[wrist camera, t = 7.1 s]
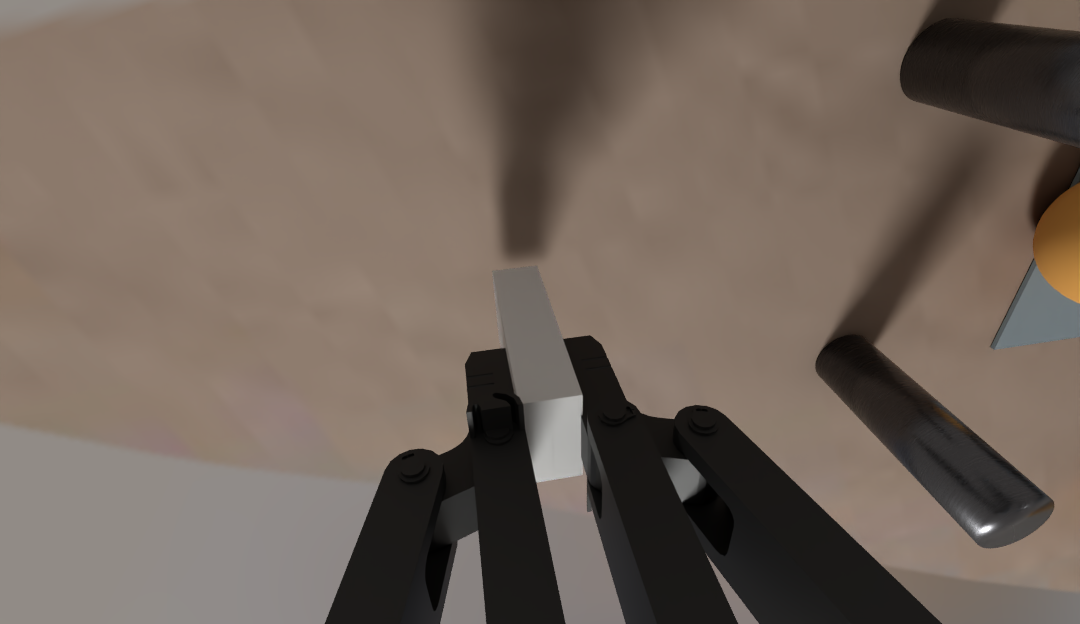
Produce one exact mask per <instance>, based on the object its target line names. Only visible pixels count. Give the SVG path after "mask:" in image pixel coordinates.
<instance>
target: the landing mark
mask: <svg viewBox="0 0 1080 624" xmlns="http://www.w3.org/2000/svg"><path fill="white" fill-rule="evenodd" d="M1079 182H1080V168H1079V170H1078V172H1077V174H1076V176H1075V178H1074V180H1073V182H1072V184H1071V186H1070V188H1071V187H1073V186H1074V185H1076V184H1078V183H1079ZM1070 188H1069V189H1070ZM1076 337H1080V304H1079V303H1077V302H1075V301H1073V300H1071V299H1069V298H1067V297H1065V296H1063V295H1062V294H1061V293H1059V292H1058V291H1057V290H1056V289H1054V288H1053V287H1052V286H1051V285H1050V284H1049V283H1048V282H1047V281H1046V280H1045V278H1044V277H1043V276H1042V274H1041V272H1040V271H1039V269H1038V267H1037V264H1036V261H1035V259H1034V261H1033V263H1032V265H1031V267H1030V269H1029V271H1028V273H1027V275H1026V277H1025V279H1024V281H1023V283H1022V285H1021V287H1020V289H1019V291H1018V293H1017V295H1016V297H1015V299H1014V301H1013V303H1012V305H1011V307H1010V309H1009V311H1008V313H1007V315H1006V317H1005V319H1004V321H1003V323H1002V325H1001V327H1000V329H999V331H998V333H997V335H996V337H995V339H994V341H993V343H992V345H991V348H992V349H994V350H995V349H1002V348H1009V347H1016V346H1022V345H1029V344H1036V343H1042V342H1049V341H1056V340H1062V339H1069V338H1076Z"/></svg>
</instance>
